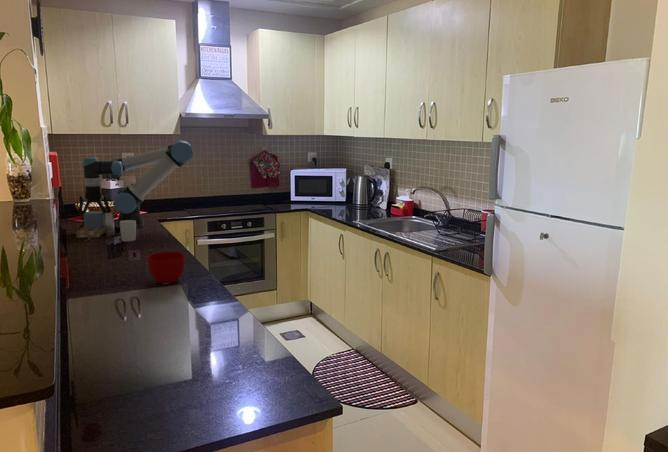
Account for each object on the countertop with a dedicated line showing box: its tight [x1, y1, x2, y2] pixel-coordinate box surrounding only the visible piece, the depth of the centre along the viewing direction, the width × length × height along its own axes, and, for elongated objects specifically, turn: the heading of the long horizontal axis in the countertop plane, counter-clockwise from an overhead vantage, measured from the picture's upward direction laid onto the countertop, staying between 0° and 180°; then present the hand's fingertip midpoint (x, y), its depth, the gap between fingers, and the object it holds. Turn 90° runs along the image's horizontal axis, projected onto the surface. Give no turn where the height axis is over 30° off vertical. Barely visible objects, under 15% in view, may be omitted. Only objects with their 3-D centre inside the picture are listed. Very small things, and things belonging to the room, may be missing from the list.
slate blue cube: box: [83, 210, 104, 228], centre depth 275 cm, size 9×9×8 cm
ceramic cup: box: [147, 251, 185, 284], centre depth 184 cm, size 13×17×10 cm
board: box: [75, 226, 106, 239], centre depth 271 cm, size 11×20×3 cm, turn 10°
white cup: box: [119, 220, 137, 243], centre depth 255 cm, size 8×8×10 cm
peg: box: [105, 211, 116, 237], centre depth 268 cm, size 4×4×12 cm
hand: (95, 225), depth 276 cm, fingers closed on slate blue cube, 9 cm apart
